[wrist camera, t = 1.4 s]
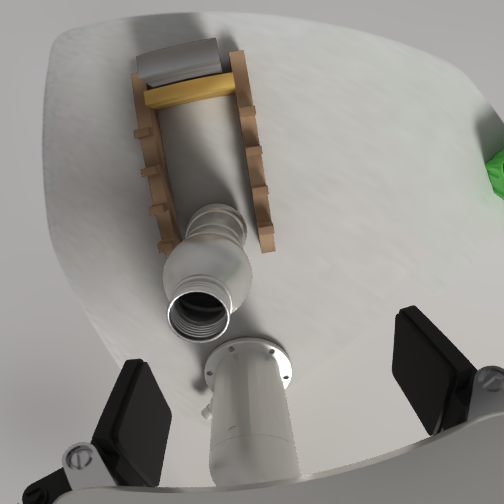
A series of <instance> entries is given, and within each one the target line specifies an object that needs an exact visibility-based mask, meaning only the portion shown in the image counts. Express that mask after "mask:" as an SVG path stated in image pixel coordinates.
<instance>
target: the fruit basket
mask: <svg viewBox="0 0 504 504" xmlns="http://www.w3.org/2000/svg"><path fill="white" fill-rule="evenodd" d="M485 166H486V168H487V170H488V174H489V178H490V181H491V184H492V186H493V189H494V193H495V194H497V195H498V196H499V197H500V198H502V199H503V200H504V148H503V149H502V150H501V152H499V153H498V154H496V155H495V156H494V157H493V159H492V160H490V161H489V162H488V163H486V165H485Z"/></svg>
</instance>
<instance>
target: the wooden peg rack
mask: <svg viewBox="0 0 504 504" xmlns="http://www.w3.org/2000/svg"><path fill="white" fill-rule="evenodd" d="M136 58H137V66H138V73H135V74H132V75H131V77H132V85H133V92H134V99H135V106H136V113H137V119H138V126H139V129H138V130H135V131H134V137H135V138H136V139H141V143H142V149H143V154H144V160H145V165H146V168H144V169H140V170H141V175H142V177H145V176H148V180H149V185H150V190H151V194H152V199H153V205H152V206H151V207H149V212H150V216H151V215H156V217H157V221H158V226H159V230H160V234H161V238H162V240H161V242H160V243H159V244H158V249H159V253H160V252H165V254H166V258H168V256H169V255H170V253H171V252H172V251H173V250H174V248H175V247H176V246H177V245H178V244H180V243H181V242H182V238H181V234H180V229H179V225H178V220H177V216H176V211H175V206H174V202H173V197H172V192H171V187H170V182H169V177H168V172H167V167H166V161H165V156H164V151H163V145H162V139H161V134H160V128H159V122H158V116H157V110H159V109H163V108H167V107H171V106H175V105H180V104H184V103H189V102H194V101H198V100H203V99H209V98H214V97H220V96H225V95H231V94H236V100H237V106H238V112H239V118H240V124H241V130H242V136H243V142H244V148H245V154H246V160H247V166H248V172H249V178H250V185H251V191H252V197H253V203H254V209H255V216H256V222H257V228H258V235H259V241H260V247H261V251H262V253H267V252H273V251H276V250H275V243H274V236H273V233H274V227H273V224H272V221H271V216H270V209H269V202H268V195H267V194H269V193H268V186H267V185H266V182H265V176H264V169H263V163H262V156H261V154H262V147H261V146H260V144H259V138H258V132H257V125H256V119H255V114H256V111H255V106H253V101H252V96H251V90H250V84H249V78H248V72H247V67H246V61H245V56H244V50H241V51H234V52H229V58H230V65H231V70H232V73H225V74H223V71H222V65H221V60H220V55H219V50H218V46H217V41H216V38H210V39H205V40H200V41H195V42H190V43H185V44H181V45H177V46H172V47H168V48H164V49H160V50H157V51H153V52H149V53H146V54H143V55H139V56H136ZM153 88H155V89H153Z"/></svg>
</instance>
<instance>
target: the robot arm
mask: <svg viewBox="0 0 504 504" xmlns="http://www.w3.org/2000/svg"><path fill="white" fill-rule="evenodd" d="M392 373H393V376H394V378H395V379H396V381H397V382H398V384H399V386H400V387H401V389H402V391H403V392H404V394H405V396H406V397H407V399H408V401H409V402H410V404H411V405H412V407H413V409H414V411H415V412H416V414H417V416H418V417H419V419H420V421H421V422H422V424H423V426H424V427H425V429H426V431H427V433H428V434H429V435H430V436H431V437H429V438H426V439H424V440H421V441H419V442H416V443H414V444H411V445H408V446H406V447H403V448H400V449H397V450H395V451H392V452H389V453H386V454H383V455H380V456H377V457H374V458H371V459H367V460H364V461H361V462H357V463H354V464H350V465H347V466H343V467H339V468H335V469H331V470H327V471H322V472H318V473H313V474H309V475H304V476H301V474H300V469H299V464H298V459H297V453H296V448H295V443H294V437H293V432H292V426H291V421H290V415H289V410H288V405H287V400H286V394H285V388H286V387H287V386H288V384H289V382H290V380H291V376H292V367H291V362H290V359H289V357H288V355H287V354H286V352H285V351H284V350H283V349H282V348H281V347H279V346H278V345H276V344H274V343H272V342H270V341H267V340H264V339H260V338H249V337H248V338H238V339H234V340H230V341H228V342H226V343H223V344H222V345H220V346H219V347H217V348H216V349H215V350H214V351H213V352H212V353H211V354H210V355H209V357H208V358H207V361H206V364H205V370H204V375H205V380H206V383H207V385H208V386H209V388H210V389H211V390H212V391H213V397H212V398H211V403H210V404H208V405H207V406H206V407H205V408H204V409H203V410H202V412H201V414H202V416H203V417H204V418H206V419H209V420H210V419H212V423H211V439H210V455H209V469H210V474H211V477H212V479H213V481H214V483H215V484H216V487H190V488H188V487H187V488H186V487H185V488H177V487H176V488H168V487H164V488H163V487H157V486H158V485H159V482H160V476H161V470H162V466H163V460H164V454H165V450H166V444H167V439H168V434H169V429H170V424H171V418H172V414H171V410H170V408H169V406H168V404H167V402H166V400H165V398H164V396H163V394H162V392H161V390H160V388H159V386H158V384H157V382H156V380H155V378H154V376H153V374H152V371H151V369H150V367H149V365H148V363H147V362H143V360H142V359H131V360H126V362H125V364H124V366H123V368H122V370H121V372H120V374H119V377H118V379H117V381H116V383H115V386H114V388H113V390H112V392H111V394H110V397H109V399H108V401H107V404H106V406H105V408H104V410H103V413H102V415H101V417H100V420H99V422H98V425H97V427H96V429H95V432H94V434H93V437H92V441H91V443H86V442H80V443H76V444H74V445H72V446H71V447H69V448H68V449H67V450H66V451H65V453H64V455H63V458H62V465H63V467H62V468H61V469H59V470H57V471H55V472H53V473H51V474H50V475H48V476H46V477H44V478H42V479H40V480H38V481H36V482H35V483H33V484H31V485H29V486H28V487H27V488H26V490H25V491H24V493H23V496H22V501H23V504H504V369H503V368H501V367H498V366H486V367H483V368H481V369H479V370H477V369H476V368H475V367H474V366H473V365H472V364H471V363H470V362H469V360H468V359H467V358H466V357H465V356H464V355H463V354H462V353H461V352H460V351H459V350H458V349H457V348H456V347H455V346H454V344H453V343H452V342H451V341H450V340H449V339H448V338H447V337H446V336H445V335H444V334H443V333H442V332H441V331H440V330H439V329H438V328H437V327H436V326H435V325H434V324H433V323H432V322H431V321H430V320H429V319H428V318H427V317H426V316H425V315H424V314H423V313H422V312H421V311H420V310H419V309H418V308H417V307H416V306H414V305H413V306H409V307H406V308H403V309H400V311H399V314H397V315H396V318H395V335H394V350H393V361H392ZM432 435H433V436H432ZM18 504H19V503H18Z"/></svg>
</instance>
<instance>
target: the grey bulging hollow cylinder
mask: <svg viewBox="0 0 504 504" xmlns="http://www.w3.org/2000/svg"><path fill="white" fill-rule="evenodd" d="M246 237H247V227H246V223H245V221H244V219H243V217H242V216H241V214H240V213H239V212H238V211H237V210H235V209H234V208H232V207H230V206H228V205H225V204H218V203H216V204H210V205H207V206H204V207H202V208H200V209H199V210H197V211H196V212H195V213H194V214H193V215H192V217H191V218H190V220H189V222H188V224H187V228H186V239H184V240H183V241H182V242H181V243H180V244H178V245H177V246H176V247H175V248H174V250H173V251H172V252H171V253H170V255H169V256H168V258H167V260H166V262H165V265H164V269H163V285H164V289H165V293H166V295H167V298H168V300H169V305H168V308H167V321H168V324H169V326H170V328H171V329H172V331H173V332H174V333H175V334H176V335H177V336H178V337H180V338H182V339H184V340H186V341H189V342H193V343H206V342H210V341H213V340H215V339H217V338H218V337H220V336H221V335H222V334H223V333H224V332H225V331H226V329H227V327H228V325H229V322H230V315H231V313H233V312H234V311H235V310H237V309H238V308H239V307H240V305H241V304H242V303H243V301H244V300H245V298H246V296H247V295H248V293H249V291H250V288H251V284H252V269H251V266H250V263H249V260H248V257H247V255H246V254H245V252H244V250H243V247H244V244H245V241H246Z"/></svg>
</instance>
